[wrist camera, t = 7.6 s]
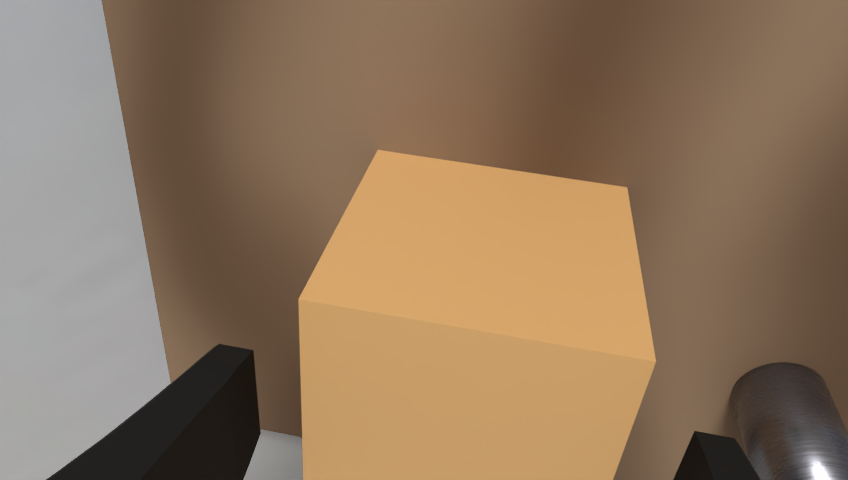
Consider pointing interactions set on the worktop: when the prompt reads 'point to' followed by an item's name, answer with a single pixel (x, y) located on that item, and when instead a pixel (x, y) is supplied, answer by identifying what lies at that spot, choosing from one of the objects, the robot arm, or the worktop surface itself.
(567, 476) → the peach wooden cube
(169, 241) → the walnut board
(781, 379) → the dark post
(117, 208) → the worktop surface
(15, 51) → the worktop surface
